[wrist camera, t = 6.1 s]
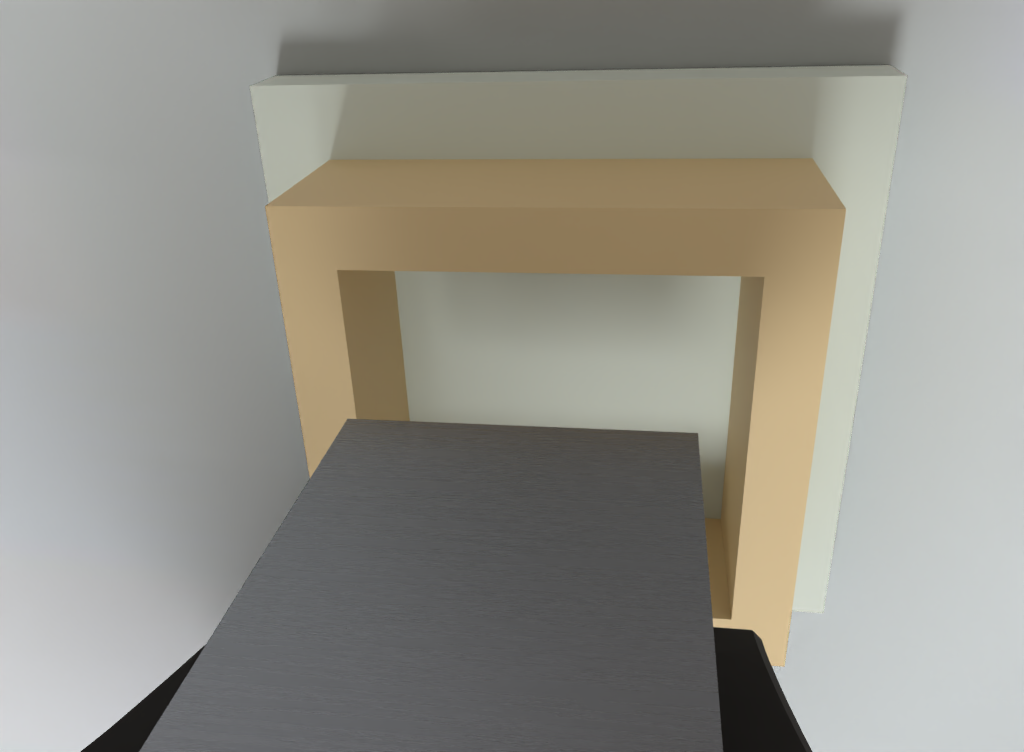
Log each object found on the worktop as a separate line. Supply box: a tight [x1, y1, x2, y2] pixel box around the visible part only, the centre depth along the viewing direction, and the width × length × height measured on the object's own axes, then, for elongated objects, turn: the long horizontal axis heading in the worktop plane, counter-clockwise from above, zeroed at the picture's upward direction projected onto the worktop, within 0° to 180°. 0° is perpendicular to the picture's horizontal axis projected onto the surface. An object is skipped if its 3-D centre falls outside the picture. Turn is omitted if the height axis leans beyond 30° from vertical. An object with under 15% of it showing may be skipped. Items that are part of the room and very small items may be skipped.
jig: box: [250, 65, 907, 667], centre depth 17 cm, size 11×11×4 cm
